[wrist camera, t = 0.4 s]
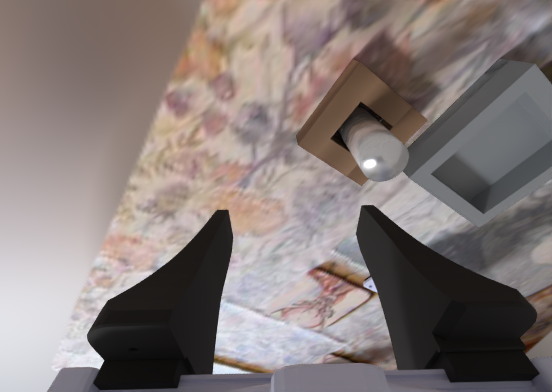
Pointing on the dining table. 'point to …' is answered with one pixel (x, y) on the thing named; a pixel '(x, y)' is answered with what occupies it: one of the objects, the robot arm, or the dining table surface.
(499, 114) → the tray
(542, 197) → the dining table surface
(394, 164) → the pin
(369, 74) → the frame
